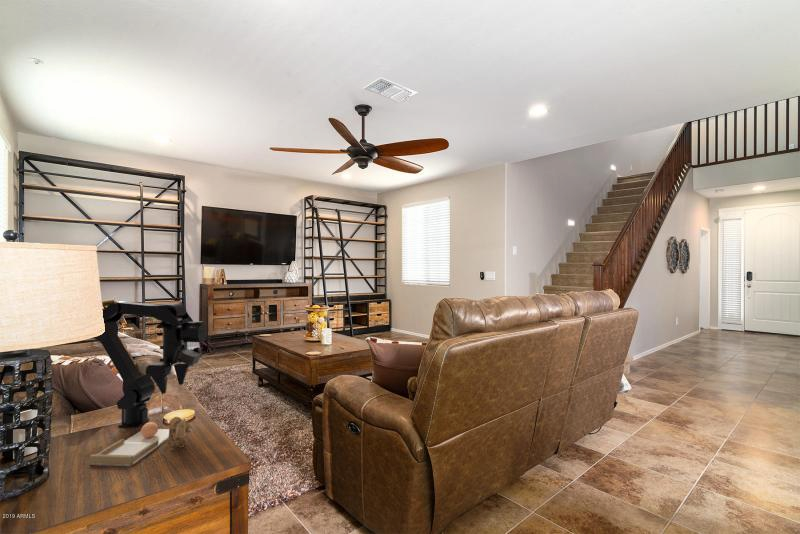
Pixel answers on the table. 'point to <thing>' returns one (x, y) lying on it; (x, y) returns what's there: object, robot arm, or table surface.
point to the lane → (129, 449)
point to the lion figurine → (178, 431)
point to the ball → (149, 429)
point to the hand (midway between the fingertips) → (172, 388)
